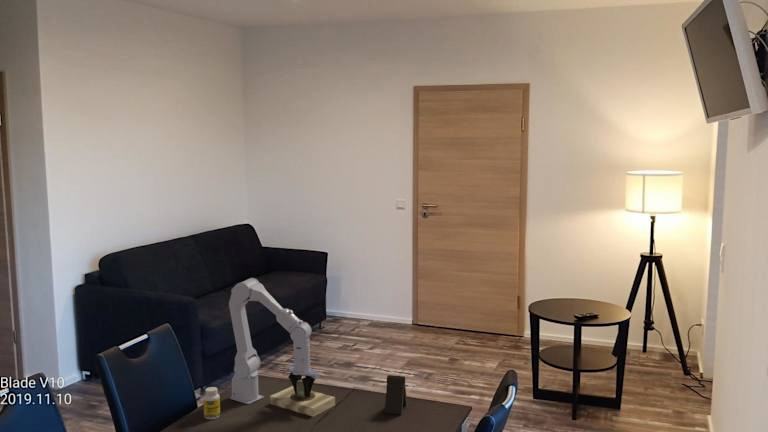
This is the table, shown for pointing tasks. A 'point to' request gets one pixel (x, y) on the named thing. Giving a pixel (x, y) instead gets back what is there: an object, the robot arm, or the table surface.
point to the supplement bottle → (211, 403)
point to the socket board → (302, 402)
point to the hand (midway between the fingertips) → (302, 394)
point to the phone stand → (395, 395)
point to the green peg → (300, 390)
